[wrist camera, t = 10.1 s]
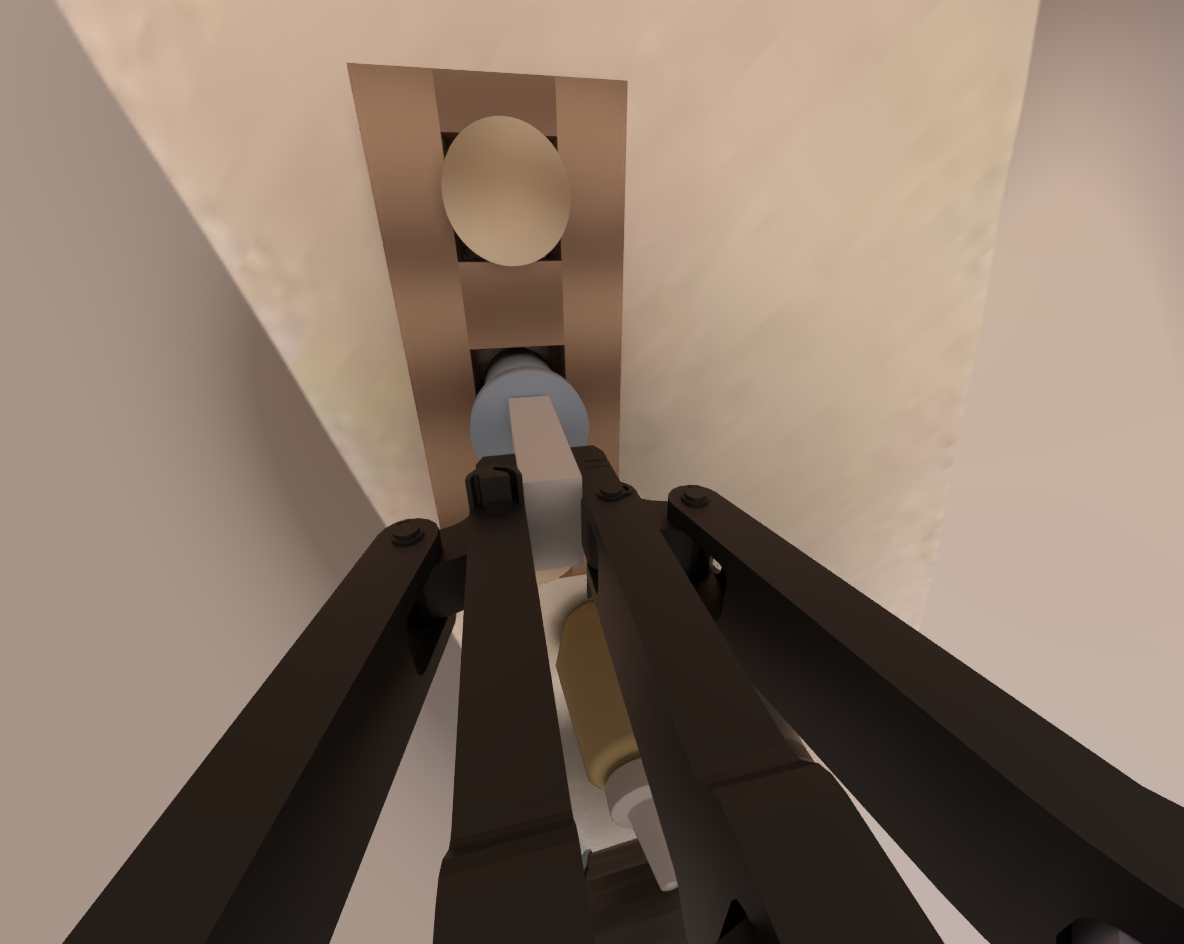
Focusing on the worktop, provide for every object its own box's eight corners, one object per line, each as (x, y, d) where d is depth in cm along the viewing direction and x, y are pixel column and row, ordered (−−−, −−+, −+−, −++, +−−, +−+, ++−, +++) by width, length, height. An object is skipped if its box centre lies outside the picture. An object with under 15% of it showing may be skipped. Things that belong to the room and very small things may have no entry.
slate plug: (564, 420, 24) (589, 477, 18) (480, 426, 24) (477, 489, 18) (560, 335, 22) (588, 369, 16) (468, 339, 22) (461, 376, 15)
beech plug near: (550, 260, 23) (572, 265, 17) (461, 261, 22) (452, 267, 16) (545, 155, 21) (568, 118, 15) (447, 152, 20) (430, 112, 14)
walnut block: (595, 518, 33) (615, 569, 28) (459, 535, 31) (453, 593, 26) (594, 119, 22) (627, 80, 17) (382, 110, 20) (346, 62, 15)
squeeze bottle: (571, 579, 35) (639, 844, 20) (655, 597, 38) (772, 839, 23) (536, 650, 38) (570, 931, 22) (616, 661, 41) (696, 917, 25)
